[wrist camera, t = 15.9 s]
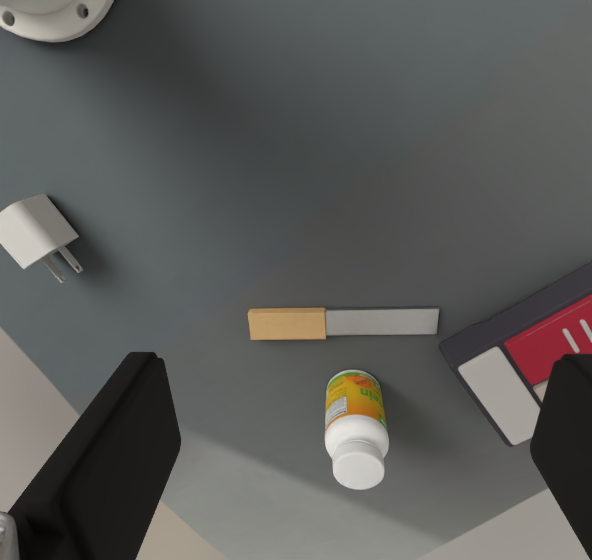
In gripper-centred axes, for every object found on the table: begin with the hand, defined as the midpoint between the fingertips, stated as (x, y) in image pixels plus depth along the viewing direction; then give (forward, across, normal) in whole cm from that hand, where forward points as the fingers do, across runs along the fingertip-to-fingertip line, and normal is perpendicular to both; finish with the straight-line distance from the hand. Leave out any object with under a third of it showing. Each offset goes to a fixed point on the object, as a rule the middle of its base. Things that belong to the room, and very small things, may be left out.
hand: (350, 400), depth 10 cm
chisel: (+24, -1, +12) cm, 27 cm away
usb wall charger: (+25, +24, +4) cm, 35 cm away
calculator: (+24, -19, +14) cm, 34 cm away
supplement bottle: (+24, -2, +20) cm, 31 cm away
